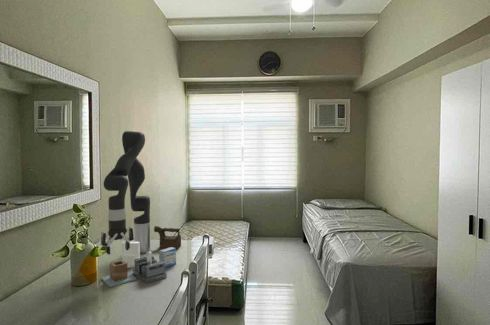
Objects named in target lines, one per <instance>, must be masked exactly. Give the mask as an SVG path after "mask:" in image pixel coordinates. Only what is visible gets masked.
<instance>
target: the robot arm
mask: <svg viewBox="0 0 490 325" xmlns="http://www.w3.org/2000/svg"><path fill="white" fill-rule="evenodd" d="M121 140H122V141H121V142H122V148H123V154H122V155H121V156H120V157H119V158H118V160H117V162H116V164H115V165H114V168H112V170H110V171H109V172H108V174H107V175H106V176H105V178H104V180H103V187H104V189H105V190H106V191H109V192H118V193H117V194H115V195H111V196H109V197H108V202H107V203H108V214H107V215H108V216H107V218H108V220H107V222H108V230H107V232H104V231H102V232H101V235H100V236H101V237H100V245H101V246H102V247H105V253H106V254H107V255H111V245H112V243H113V242H114V241H118V240H122V239H123V240H124V241H126V242H125V249H126V250H129V248H130V242H140V254H142V253H147V252H148V251H151V216H150V214H151V197H150V196H149V195H137V193H138V191H139V190H140V187H141V186H142V185H143V183H144V181H145V180H146V174H145V172H146V171H145V167H144V165H143V163H142V162H141V161H140V160H139V159H138V156H139V154H140V153H141V152H142V150H143V148H144V146H145V143H146V136H145V134H144V132H142V131H133V130H131V131H130V130H129V131H127V130H125V131H124V132H123V133H122V135H121ZM128 187H129V196H130V200H129V201H130V209H131V211H133V212H143V213H142V214H141V215H138V216H136V217H134V218H133V228H132V227H128V228H127V225H126V223H127V220H126V219H127V218H126V217H127V214H126V201H125V200H126V194H127V190H128ZM127 233H128V236H126V234H127ZM108 236H109V237H108ZM107 237H108V238H107ZM106 238H107V239H106ZM106 240H107V241H106Z"/></svg>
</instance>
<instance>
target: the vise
mask: <svg viewBox="0 0 490 325" xmlns="http://www.w3.org/2000/svg"><path fill="white" fill-rule="evenodd" d="M152 253H153V252H152V251H151V250H150V251H148V252H146V256H143V257H140V258H138V259H134V267H133V269H132V273H133V274H134V275H135V277H136V276H137V277H138V278H139V279H140V280H141V281H143V282H144V283H146V284H149V283H153V282H156V281H160V280H163V279H166V278H168V277H167V276H168V275H167V274H168V273H167V272H165V271H166V268H165V263H164V262H162V261H161V262H159V261H158V260H157V259H155V256H153V254H152Z"/></svg>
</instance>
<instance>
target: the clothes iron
mask: <svg viewBox="0 0 490 325" xmlns="http://www.w3.org/2000/svg"><path fill="white" fill-rule="evenodd" d="M180 230H181V229H180V228H173V227H169V228H167V227H164V228H163V227H161V226H158V225H154V227H153V231H154V233H157V234H159V248H160V249H161V250H163V249H166V248H169V247H173V248H176V251H177V250H178V249H179V248H180V247H181V246H182V235H181V234H180ZM165 232H169V233H177V235H169V236H168V235H166V233H165Z"/></svg>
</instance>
